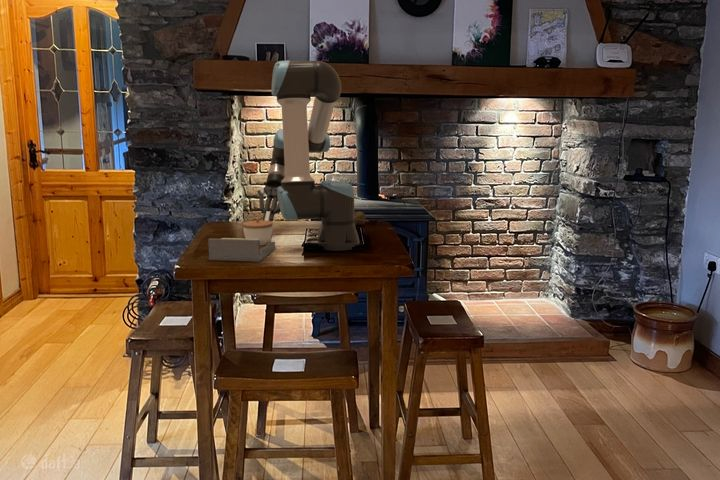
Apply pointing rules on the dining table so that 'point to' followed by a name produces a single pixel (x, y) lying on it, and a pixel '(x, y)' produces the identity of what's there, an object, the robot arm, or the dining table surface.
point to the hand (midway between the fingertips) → (266, 227)
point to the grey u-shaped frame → (238, 250)
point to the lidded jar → (258, 230)
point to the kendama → (359, 218)
